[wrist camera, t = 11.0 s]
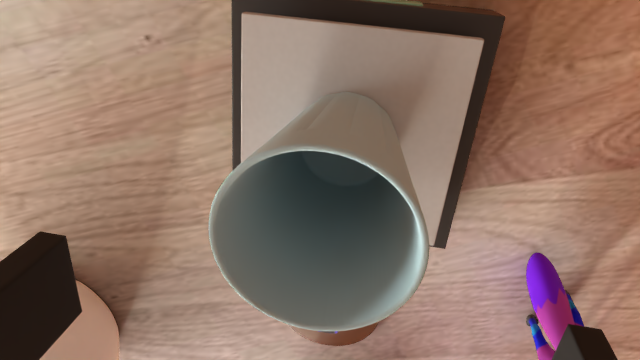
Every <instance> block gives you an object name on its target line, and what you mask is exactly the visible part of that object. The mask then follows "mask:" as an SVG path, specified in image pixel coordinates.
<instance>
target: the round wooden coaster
mask: <svg viewBox="0 0 640 360" xmlns="http://www.w3.org/2000/svg"><path fill="white" fill-rule="evenodd" d="M377 323H378V322H376V323H373V324H371V325H368V326H365V327H361V328H357V329H352V330H346V331H315V330H309V329H303V328H299V327H295V326H291V325H289V324H288V325H289V326H290V327H291V328H292V329H293V330H294V331H295V332H297V333H298V334H299V335H301V336H302V337H304V338H306V339H308V340H310V341H313V342H316V343H320V344H325V345H333V346H342V345H349V344H353V343H356V342H359V341H361V340H363V339H364V338H366V337H367V336H368V335H370V334H371V333H372V331H373V330H374V329H375V327H376V325H377Z"/></svg>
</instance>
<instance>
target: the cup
mask: <svg viewBox="0 0 640 360" xmlns="http://www.w3.org/2000/svg"><path fill="white" fill-rule="evenodd" d="M209 240H210V245H211V249H212V253H213V255H214V258H215V261H216V263H217V265H218V267H219V269H220V271H221V272H222V274H223V276H224V277H225V279H226V280H227V282H228V283H229V284H230V285H231V287H232V288H233V289H234V290H235V291H236V292H237V293H238V294H239V295H240V296H241V297H242V298H243V299H244V300H245V301H247V302H248V303H249V304H250V305H252V306H253V307H254V308H256V309H257V310H259V311H261V312H262V313H264V314H266V315H268V316H270V317H272V318H274V319H276V320H278V321H281V322H283V323H286V324H289V325H291V326H295V327H299V328H303V329H309V330H315V331H346V330H352V329H357V328H361V327H365V326H368V325H371V324H373V323H376V322H378V321H380V320H383V319H384V318H386V317H388V316H390V315H391V314H393V313H394V312H395V311H397V310H398V309H399V308H400V307H402V306H403V305H404V304H405V303H406V302H407V301H408V300H409V299H410V298H411V296H412V295H413V294H414V293H415V291H416V290H417V288H418V286H419V285H420V283H421V281H422V279H423V276H424V274H425V271H426V268H427V264H428V258H429V236H428V230H427V226H426V222H425V219H424V216H423V213H422V210H421V207H420V204H419V200H418V197H417V195H416V192H415V189H414V187H413V184H412V181H411V178H410V174H409V171H408V168H407V165H406V162H405V159H404V156H403V152H402V149H401V146H400V143H399V140H398V137H397V134H396V131H395V129H394V126H393V124H392V121H391V119H390V117H389V115H388V114H387V112H386V111H385V110H384V109H383V108H382V107H380V106H379V105H378V104H377V103H376V102H375V101H373V100H372V99H370V98H368V97H366V96H362V95H359V94H356V93H352V92H341V93H335V94H329V95H326V96H324V97H322V98H320V99H319V100H318V101H316V102H315V103H313V104H311V105H310V106H309V107H308V108H306V109H305V110H304V111H303V112H301V113H300V114H299V115H298V116H297V117H296V118H294V119H293V120H292V121H291V122H290V123H289V124H287V125H286V126H285V127H284V128H283V129H281V130H280V131H279V132H278V133H277V134H276V135H274V136H273V137H272V138H271V139H270V140H269V141H267V142H266V143H265V144H264V145H263V146H261V147H260V148H259V149H257V150H256V151H255V152H254V153H253V154H251V155H250V156H249V157H248V158H247V159H246V160H244V161H243V162H242V163H241V164H240V165H238V166H237V167H236V168H235V169H234V170H233V171H232V172H231V173H230V174H229V175H228V176H227V178H226V179H225V180H224V181H223V183H222V184H221V186H220V188H219V189H218V191H217V193H216V195H215V197H214V199H213V202H212V205H211V210H210V215H209Z"/></svg>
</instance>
